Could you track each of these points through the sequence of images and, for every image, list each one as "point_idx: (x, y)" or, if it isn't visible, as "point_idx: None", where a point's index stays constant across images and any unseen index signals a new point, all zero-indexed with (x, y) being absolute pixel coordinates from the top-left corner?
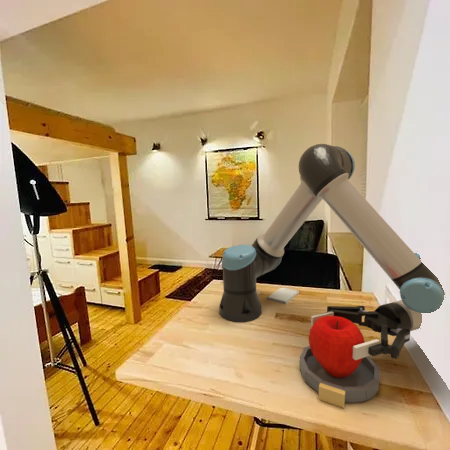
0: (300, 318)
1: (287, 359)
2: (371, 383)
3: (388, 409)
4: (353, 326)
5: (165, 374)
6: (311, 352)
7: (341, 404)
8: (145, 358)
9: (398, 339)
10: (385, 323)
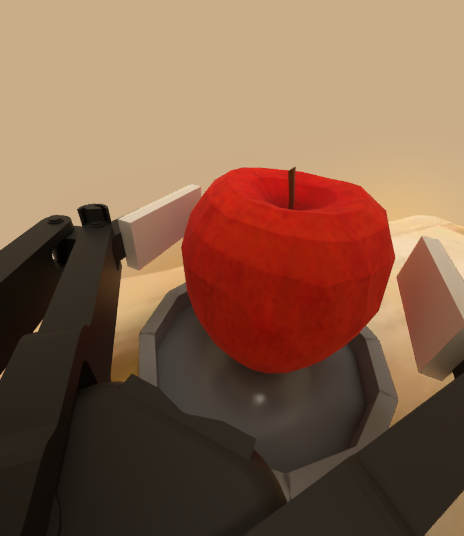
0: None
1: (376, 331)
2: (159, 313)
3: (123, 326)
4: (230, 185)
5: (405, 225)
6: (362, 365)
7: None
8: (451, 227)
9: (5, 259)
10: (25, 372)
